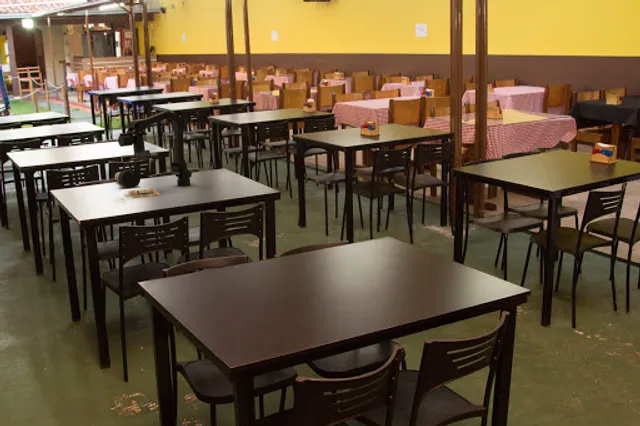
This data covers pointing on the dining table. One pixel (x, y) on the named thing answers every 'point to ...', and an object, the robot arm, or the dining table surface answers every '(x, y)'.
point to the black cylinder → (128, 178)
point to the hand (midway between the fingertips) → (141, 173)
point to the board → (137, 195)
